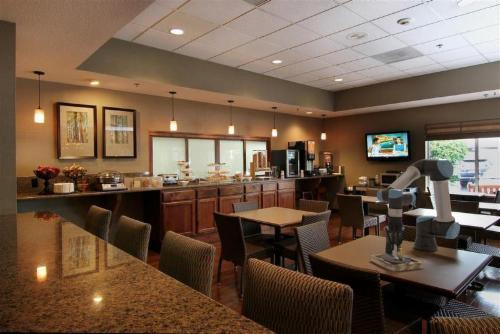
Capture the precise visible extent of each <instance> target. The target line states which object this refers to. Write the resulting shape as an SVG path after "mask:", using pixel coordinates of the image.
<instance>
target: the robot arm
mask: <svg viewBox="0 0 500 334" xmlns="http://www.w3.org/2000/svg"><path fill="white" fill-rule="evenodd" d="M454 171H455V170H454V165H453V163H452V162H451V161H450V160H449V159H447V158H445V159H444V158H423V159H420V160H417V161H416V162H413V163H412V164H410V165H409V166H408V167H407V168H406V170H405V172H403V173H402V174H401V175H400V176H398V178H396V179H395V180H394V181H393V182H392V183H391V184H390V185H389V186H388V187H387V188H385V189H379V190H378V191H377V192H376V199H377V200H378V201H379V202H382V203H388V211H387V214H388V216H387V217H388V218H387V225H386V226H383V230H384V232H385V236H386V237H387V241H388V243H389V244H391V250H393V254H392V255H393V256H394V257H397V251H398V246H399V244H401V245H402V244H403V241H404V239H405V238H404V237H405V233H406V232H407V230H408V229H407V228H406V227H404V225H403V217H402V216H403V206H406V205H407V206H409V205H412V204H415V202H416V199H417V196H416V194H415V193H414V192H413V191H412V192H411V191H404V190H405V189H406V188H407V187H408V186H409V185H411V184H412V183H413V182H414V181H415V180H417V179H419V178H420V177H429V181H430V182H432V186H433V194H434V201H435V203H434V204H435V212H436V215H435V216H434V215H420V216H417V217H416V221H415V222H416V223H415V224H416V227H415V230H416V231H415V232H416V234H415V236H416V237H415V240H414V243H413V248H414V249H416V250H419V251H423V252H437V251H438V250H439V249H438V248H439V246H438V244H437V239H436V237H441V238H445V239H452V240H454V239H456V238H457V237H458V236H459V233H460V230H461V225H460V223H459V222H458V221H456V218H455V217H454V216H453V215H452V206H451V196H450V188H449V181H450V180H451V177H453V174H454ZM388 228H389V229H390V230H391V240H390V235H389V231H388ZM400 230H401V234H400V237H399V231H400ZM386 237H385V238H386ZM394 238H395V244H394Z"/></svg>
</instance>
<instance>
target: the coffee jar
mask: <svg viewBox="0 0 500 334" xmlns="http://www.w3.org/2000/svg"><path fill="white" fill-rule="evenodd" d="M388 231H389V235H390V240H391V230H390V229H389V228H388ZM401 231H402V229H401V230H400V231H399V237H400V234H401ZM394 244H395V238H394ZM398 248H402V244H399V246H398ZM384 252H385V253H384V254H386V253H393V250H391V244H389V243H388V241H387V237H385V251H384ZM397 253H398V251H397Z"/></svg>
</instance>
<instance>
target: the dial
mask: <svg viewBox="0 0 500 334" xmlns="http://www.w3.org/2000/svg"><path fill="white" fill-rule="evenodd" d="M403 253H404V249H403V248H402V247H401V248H398V254H397V257H394V256H393V255H392V254H393V253H382V259H383V260H384V261H386V262H389V263H391V264H405V263H411V258H412V257H410V256H409V255H405V254H403Z"/></svg>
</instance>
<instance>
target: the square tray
mask: <svg viewBox="0 0 500 334" xmlns="http://www.w3.org/2000/svg"><path fill="white" fill-rule="evenodd" d="M382 254H383V253H382ZM382 254H381V253H379V254H371V256H370V258H371V259H370V261H371V262H373V263H375V264H377V265H379V266H381V267H383V268H385V269H387V270H389V271H391V272H401V271H402V270H403V271H410V269H411V270H420V269H423V261H420V260H418V259H415V258H413V257H410V258H411V263H405V264H391V263H389V262H386V261H384V260H383V259H382ZM397 254H398V253H397Z"/></svg>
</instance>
